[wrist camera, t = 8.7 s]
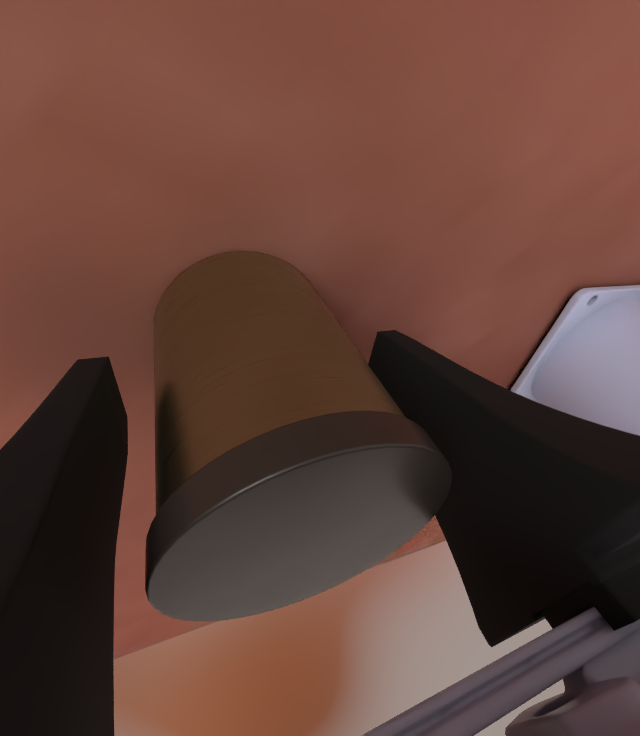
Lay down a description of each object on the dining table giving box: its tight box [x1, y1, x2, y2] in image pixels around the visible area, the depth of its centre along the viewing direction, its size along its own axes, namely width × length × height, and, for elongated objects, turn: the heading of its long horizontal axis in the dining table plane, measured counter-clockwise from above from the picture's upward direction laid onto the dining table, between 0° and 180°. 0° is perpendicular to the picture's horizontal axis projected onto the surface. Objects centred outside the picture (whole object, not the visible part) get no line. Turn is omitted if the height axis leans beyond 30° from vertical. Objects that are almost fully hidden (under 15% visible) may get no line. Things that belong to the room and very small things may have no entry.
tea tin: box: [145, 252, 452, 621], centre depth 9 cm, size 6×6×7 cm
